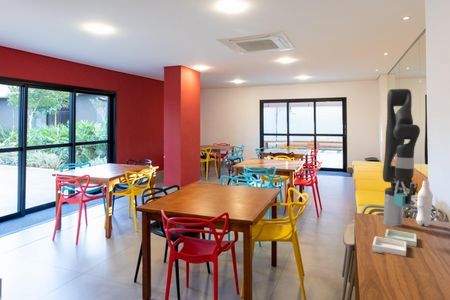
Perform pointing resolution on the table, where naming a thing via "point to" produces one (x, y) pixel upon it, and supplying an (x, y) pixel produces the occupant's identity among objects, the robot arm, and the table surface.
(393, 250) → the cream tray
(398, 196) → the teal cube
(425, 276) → the table surface
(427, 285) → the table surface
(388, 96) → the robot arm
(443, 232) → the table surface
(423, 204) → the water bottle
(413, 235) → the sage tray
